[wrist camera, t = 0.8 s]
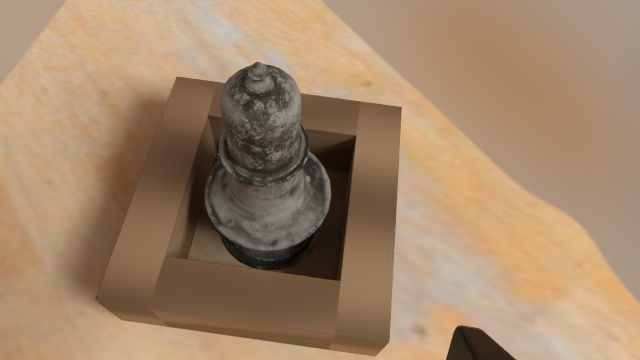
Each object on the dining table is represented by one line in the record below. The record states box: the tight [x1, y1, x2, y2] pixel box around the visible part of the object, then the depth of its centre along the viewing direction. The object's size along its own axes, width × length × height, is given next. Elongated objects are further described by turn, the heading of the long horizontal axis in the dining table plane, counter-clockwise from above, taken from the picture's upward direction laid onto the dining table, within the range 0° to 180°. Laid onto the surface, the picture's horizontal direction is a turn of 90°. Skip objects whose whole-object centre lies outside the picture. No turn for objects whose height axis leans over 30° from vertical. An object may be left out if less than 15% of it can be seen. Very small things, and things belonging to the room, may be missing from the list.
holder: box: [96, 77, 402, 356], centre depth 24 cm, size 12×12×4 cm
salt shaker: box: [204, 62, 331, 270], centre depth 20 cm, size 6×6×12 cm
